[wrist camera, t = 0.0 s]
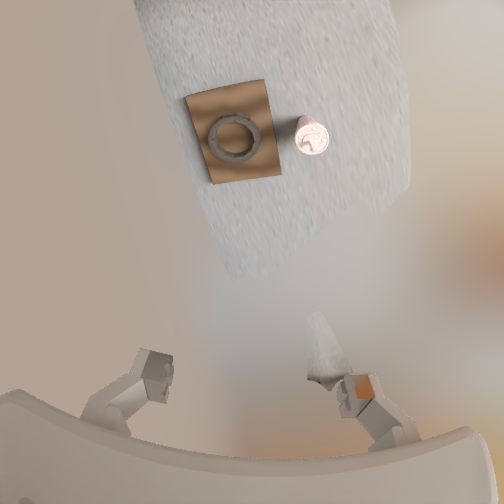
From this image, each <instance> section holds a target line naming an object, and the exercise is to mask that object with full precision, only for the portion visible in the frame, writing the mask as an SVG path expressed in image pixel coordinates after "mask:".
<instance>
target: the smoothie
mask: <svg viewBox="0 0 504 504" xmlns="http://www.w3.org/2000/svg"><path fill="white" fill-rule="evenodd" d="M294 141H295V144H296V146H297V148H298V149H299V150H300V151H301V152H303V153H305V154H308V155H315V154H319V153H321V152H323V151H324V150H325V149H326V147H327V146H328V143H329V135H328V132H327V130H326V129H325V128H324V127H323V126H322V125H321V124H319V123H317V122H316V121H315V120H314V119H313V118H312V117H311V116H308V115H305V116H302V117H300V118H299V120H298V124H297V130H296V132H295V135H294Z"/></svg>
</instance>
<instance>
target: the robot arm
mask: <svg viewBox="0 0 504 504" xmlns="http://www.w3.org/2000/svg"><path fill="white" fill-rule="evenodd" d="M172 362H173V356H171V355H167V354H163V353H159V352H155V351H151V350H147V349H143V348H140V350H139V351H138V353H137V356H136V358H135V361H134V363H133V365H132V368H131V370H130V372H129V375H128V374H125V375H123V376H122V377H120V378H119V379H117V380H116V381H114V382H112V383H111V384H109V385H108V386H106V387H104V388H103V389H101V390H100V391H98V392H96V393H95V394H93V395H92V396H90V397H89V399H88V401H87V403H86V406H85V408H84V410H83V413H82V415H81V417H80V418H77V417H75V416H72V415H70V414H68V413H66V412H64V411H61V410H59V409H57V408H55V407H53V406H51V405H49V404H47V403H45V402H44V401H42V400H40V399H38V398H36V397H34V396H32V395H31V394H29V393H27V392H25V391H24V390H21V389H16V390H13V391H10V392H8V393H5V394H3V395H1V396H0V504H499V501H498V491H497V484H496V478H495V473H494V469H493V465H492V461H491V457H490V454H489V450H488V447H487V444H486V442H485V440H484V438H483V437H482V436H481V435H480V434H479V433H477V432H476V431H475V430H474V429H472V428H471V427H469V426H464V427H461V428H459V429H456V430H453V431H450V432H447V433H445V434H442V435H438V436H436V437H432V438H429V439H426V440H422V441H421V438H420V435H419V433H418V429H417V427H416V424H415V422H414V421H413V420H412V419H411V418H410V417H409V416H407V415H406V414H405V413H404V412H403V411H402V410H401V409H399V408H398V407H397V406H396V405H395V404H394V403H393V402H391V401H390V400H389V399H388V398H387V397H384V395H383V392H382V389H381V386H380V384H379V381H378V378H377V375H376V374H375V373H347V374H346V375H345V376H344V381H343V382H341V383H340V384H339V386H338V388H337V400H338V401H339V402H340V403H341V405H340V407H339V409H340V413H341V418H353V417H354V418H355V417H357V418H356V419H357V420H358V421H359V422H360V423H361V425H362V426H363V427H364V428H365V429H366V431H367V432H368V433H369V434H370V436H371V437H372V438H373V439H374V440H375V443H374V444H373V445H371V446H370V447H369V449H368V451H369V452H368V453H362V454H356V455H348V456H339V457H328V458H314V459H254V458H240V457H239V458H238V457H229V456H220V455H212V454H205V453H198V452H192V451H186V450H181V449H176V448H172V447H167V446H163V445H159V444H155V443H151V442H147V441H143V440H140V439H136V438H133V437H130V436H131V432H130V430H129V428H128V426H127V424H126V420H127V419H128V418H130V417H131V416H132V415H133V414H134V413H135V412H137V411H138V410H139V409H140V408H141V407H142V406H143V405H145V404H146V403H147V402H148V400H151V401H156V402H160V403H165V404H166V402H167V399H168V395H169V386H170V385H171V384H172V379H173V373H174V367H173V365H172Z"/></svg>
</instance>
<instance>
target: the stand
mask: <svg viewBox="0 0 504 504" xmlns="http://www.w3.org/2000/svg"><path fill="white" fill-rule="evenodd" d="M185 98H186V102H187V105H188V108H189V111H190V114H191V117H192V121H193V124H194V127H195V130H196V133H197V136H198V139H199V142H200V145H201V148H202V152H203V155H204V158H205V161H206V164H207V167H208V170H209V173H210V176H211V179H212V182H213V185H214V184H220V183H226V182H233V181H240V180H246V179H254V178H261V177H269V176H277V175H282V174H281V166H280V160H279V154H278V148H277V143H276V137H275V132H274V126H273V121H272V116H271V111H270V106H269V101H268V96H267V91H266V86H265V81H264V79H261V80H255V81H249V82H244V83H238V84H233V85H228V86H224V87H219V88H215V89H211V90H207V91H203V92H199V93H195V94H191V95H188V96H187V97H185Z"/></svg>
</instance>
